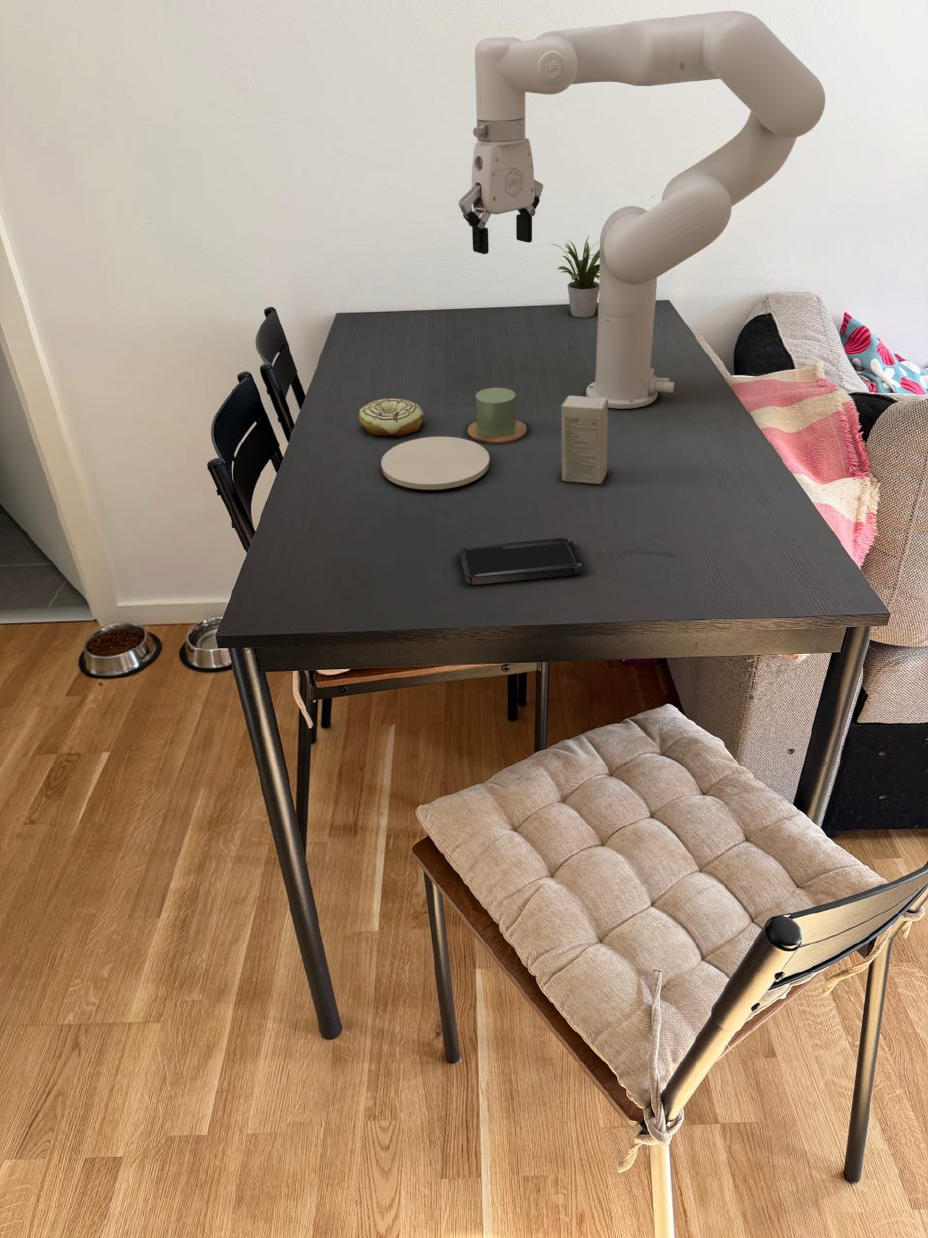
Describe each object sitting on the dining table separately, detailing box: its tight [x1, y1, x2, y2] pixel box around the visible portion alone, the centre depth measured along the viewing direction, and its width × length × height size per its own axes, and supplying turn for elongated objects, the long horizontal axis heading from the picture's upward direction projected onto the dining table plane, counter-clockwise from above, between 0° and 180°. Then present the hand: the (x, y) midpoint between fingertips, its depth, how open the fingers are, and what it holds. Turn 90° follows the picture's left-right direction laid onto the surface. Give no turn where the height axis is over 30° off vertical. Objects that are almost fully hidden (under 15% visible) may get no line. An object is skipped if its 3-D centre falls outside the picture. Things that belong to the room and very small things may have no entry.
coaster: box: [467, 419, 528, 444], centre depth 160 cm, size 10×10×1 cm
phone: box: [460, 537, 582, 586], centre depth 124 cm, size 8×1×15 cm
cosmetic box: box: [560, 394, 609, 485], centre depth 141 cm, size 6×4×12 cm
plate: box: [380, 436, 491, 491], centre depth 149 cm, size 17×17×2 cm
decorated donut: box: [359, 397, 425, 437], centre depth 162 cm, size 10×11×4 cm
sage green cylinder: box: [475, 387, 517, 437], centre depth 158 cm, size 7×7×6 cm
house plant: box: [547, 235, 600, 318], centre depth 205 cm, size 14×14×16 cm
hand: (502, 246), depth 156 cm, fingers open, 9 cm apart
